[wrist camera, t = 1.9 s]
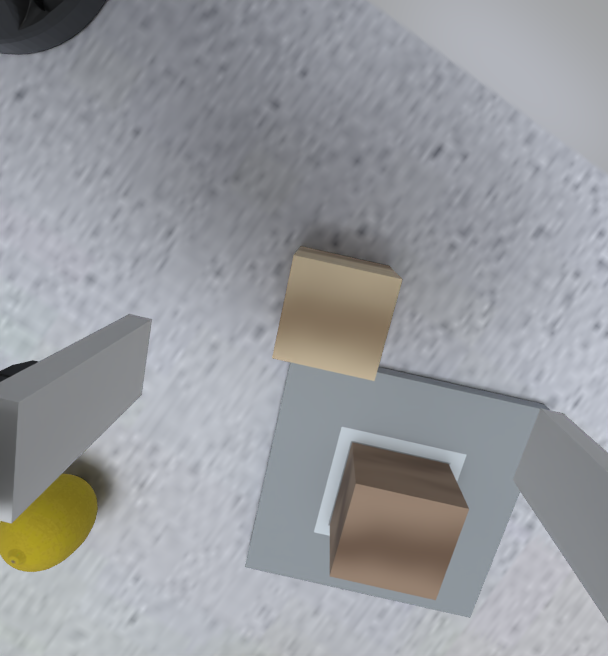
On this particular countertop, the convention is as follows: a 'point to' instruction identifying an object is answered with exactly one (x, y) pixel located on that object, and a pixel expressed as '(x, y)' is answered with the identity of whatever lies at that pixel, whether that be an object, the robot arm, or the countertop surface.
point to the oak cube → (336, 313)
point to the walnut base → (395, 521)
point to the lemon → (50, 526)
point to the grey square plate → (398, 436)
